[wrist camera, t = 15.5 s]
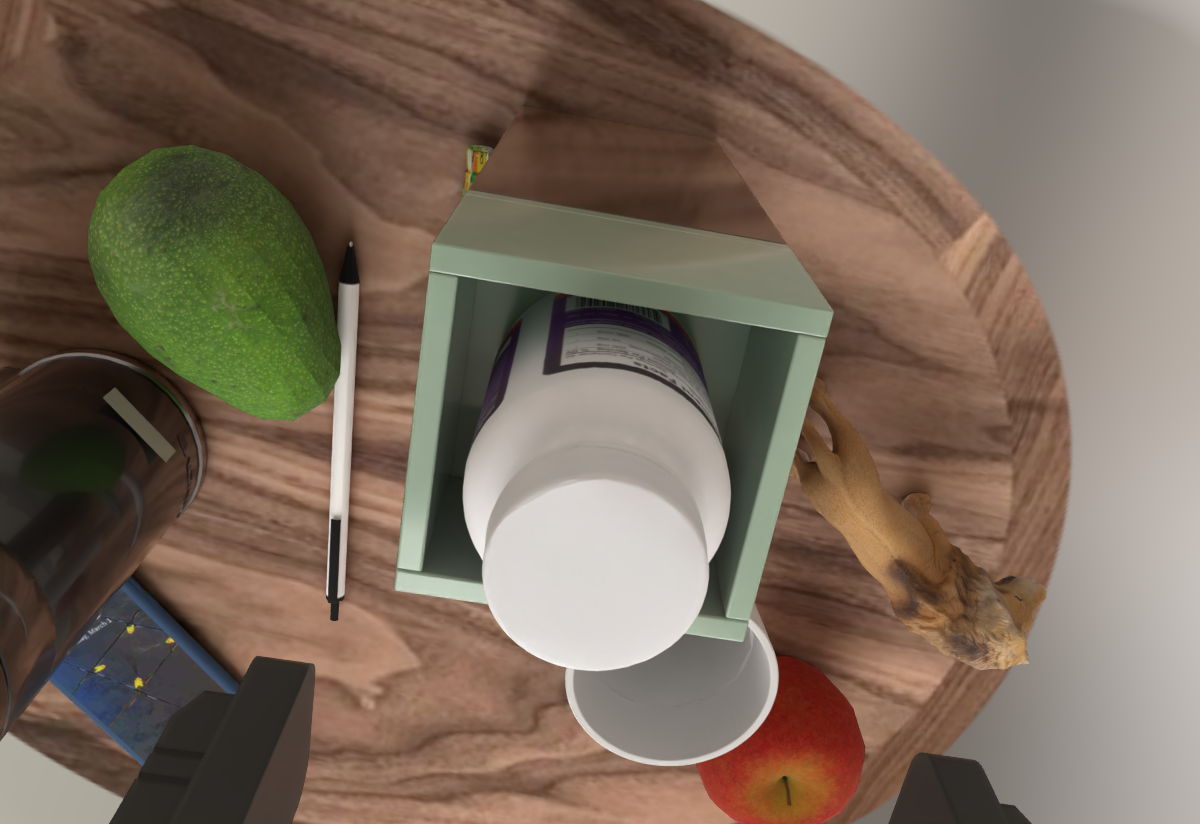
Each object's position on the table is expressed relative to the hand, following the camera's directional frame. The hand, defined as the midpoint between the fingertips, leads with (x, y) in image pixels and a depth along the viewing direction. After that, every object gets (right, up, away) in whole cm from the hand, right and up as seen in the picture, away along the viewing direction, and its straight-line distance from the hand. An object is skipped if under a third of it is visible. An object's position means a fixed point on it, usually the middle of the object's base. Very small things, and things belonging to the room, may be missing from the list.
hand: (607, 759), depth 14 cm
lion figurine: (+13, +2, +35) cm, 37 cm away
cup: (+3, -1, +36) cm, 36 cm away
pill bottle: (0, +6, +13) cm, 15 cm away
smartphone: (-19, -15, +42) cm, 48 cm away
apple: (+8, -10, +40) cm, 42 cm away
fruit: (-18, +14, +24) cm, 33 cm away
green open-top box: (0, +13, +30) cm, 33 cm away
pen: (-12, +3, +34) cm, 37 cm away
